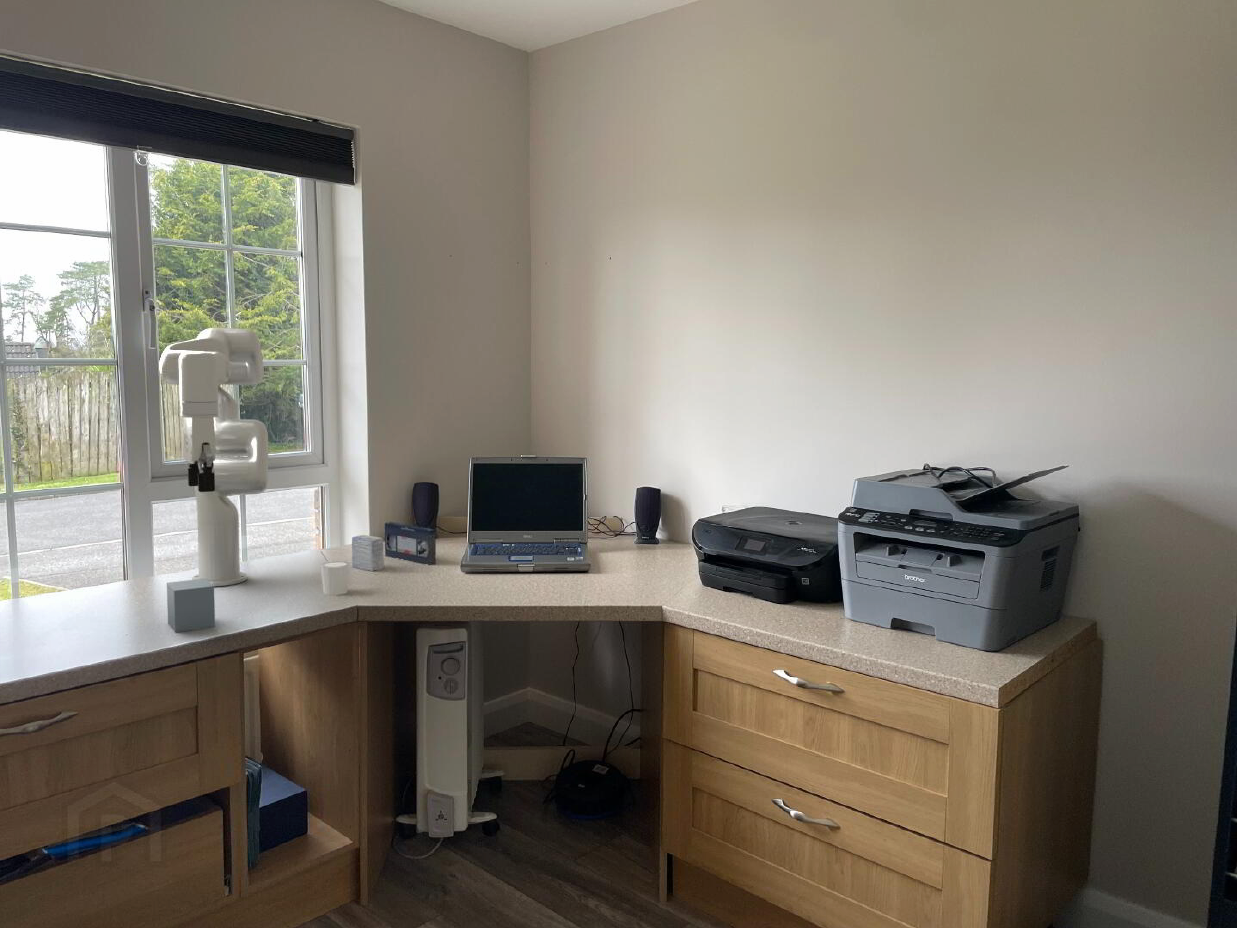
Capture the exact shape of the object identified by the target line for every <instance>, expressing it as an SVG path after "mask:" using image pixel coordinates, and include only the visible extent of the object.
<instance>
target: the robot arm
mask: <svg viewBox="0 0 1237 928" xmlns="http://www.w3.org/2000/svg"><path fill="white" fill-rule="evenodd" d="M158 367H159V374H160V377H161V379H162V380H163V381H164V382H165V383H166V384H169V385H173V386H176V385H177V386H178V385H179V386H178V387H179V414H180V415H179V416H180V418H183V425H182V428H183V429H182V458H183V459H182V460H184V461H186V462H187V466H188V467H187V482H188V484H187V485H188V486H189V487H193V488H194V492H195V493H194V494H195V500H196V514H197V518H196V519H197V521H196V522H197V548H198V549H197V551H198V553H197V554H198V555H197V556H198V557H197V558H198V574H196V575H194V576H193V577H192V579H191V580H196V579H205V578H206V579H207V580H208V581H209V582H210V583H211V584H212V585H213V586H214V587H223V586H224V587H225V586H232V585H233V586H234V585H237V584H239V583H242V582H245V581H246V580H247V574H246V573H245V572H242V571H241V570H240V569H241V567H240V565H241V564H240V563H241V561H240V519H239V517H240V516H239V511H238V508H237V507H236V505H235V504H234V503H233V501H231V499H230V498H229V497H228V496H233V495H235V496H237V495H238V496H239V495H242V496H243V495H244V496H245V495H258V494H262V493H265V491H266V489H267V488H268V482H269V435H268V429H267V426H266V424H265V423H264V422H262V421H261V420H257V419H249V418H248V419H245V418H243V419H241V418H240V419H239V418H238V417H239V416H238V414H239V413H238V411H239V407H238V406H239V405H238V403H237V400H236V399H234V397H233V396H232V394H230V393H229V392H228V391H227V390H226V389H224V388H223V387H222V385H225V386H226V385H228V386H229V385H231V386H233V385H234V386H235V385H236V386H254V385H258V384H260V383H261V382H262V380H263V377H264V371H265V369H264V367H265V366H264V359H263V351H262V347H261V343H260V340H259V337H258V336H257V334H256V333H255V332H254V331H253V330H251V329H248V328H232V327H231V328H230V327H228V328H227V327H211V328H210V327H209V328H206V329H204V330H202V331H201V332H199V334H198V336H196V338H194V339H190V340H185V341H180V342H176V343H173V344H170V345H168V346H167V347H165V349H164V351H163V352H162V353H161V356H160V360H159V366H158Z"/></svg>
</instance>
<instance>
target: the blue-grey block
mask: <svg viewBox="0 0 1237 928" xmlns="http://www.w3.org/2000/svg"><path fill="white" fill-rule="evenodd" d="M166 601H167V602H166V603H167V605H166V606H167V623H168V625H169V626H170V628H171V629H172V630H173V632H175V633H179V632H187V631H193V630H195V631H196V630H200V629H207V628H214V627H216V610H215V604H216V603H215V586H213V585H212V584H211V583H210V582H209V581H208V580H207V579H206V578H205V579H196V580H192V579H188V580H179V581H171V582H166Z"/></svg>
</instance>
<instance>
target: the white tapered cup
mask: <svg viewBox="0 0 1237 928" xmlns="http://www.w3.org/2000/svg"><path fill="white" fill-rule="evenodd" d="M350 566H351V564H350V563H349V562H346V561H329V562H324V563H321V564H320V570H321V571H320V572H321V580H322V590H323V594H324V595H326V594H327V596H340V595H345V594H347V593H348V592H349V591H348V590H349V578H350V577H349V575H350V568H351V567H350Z"/></svg>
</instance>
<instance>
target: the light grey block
mask: <svg viewBox="0 0 1237 928" xmlns="http://www.w3.org/2000/svg"><path fill="white" fill-rule="evenodd" d="M351 554H352V555H351V558H352V560H351V564H352V568H353V569H359V570H364V571H368V570H370V571H369V572H375V571H374V570H377V571H380V570H383V569H384V566H385V564H384V560H385V559H384V556H385V555H384V538H382V537H379V536H372V535H368V534H361V535H355V536H353V537H352V538H351Z"/></svg>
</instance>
